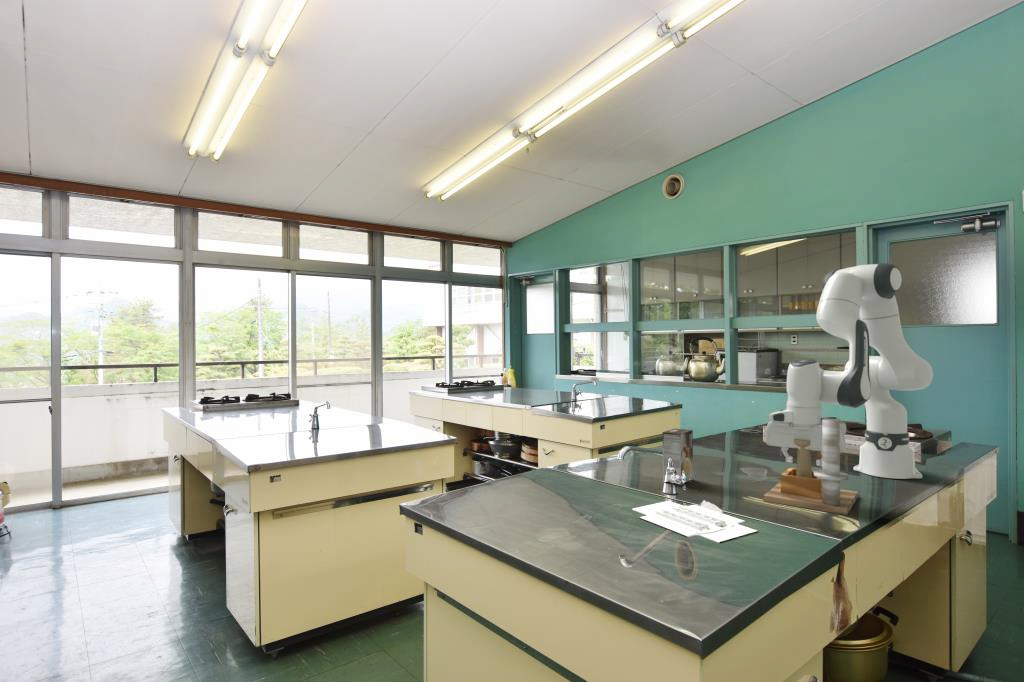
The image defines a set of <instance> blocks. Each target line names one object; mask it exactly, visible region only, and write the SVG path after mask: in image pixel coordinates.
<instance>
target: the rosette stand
mask: <svg viewBox="0 0 1024 682" xmlns="http://www.w3.org/2000/svg"><path fill="white" fill-rule="evenodd" d="M832 419H833V418H830V419H823V420H822V455H821V458H822V467H821V469H818V470H812V478H806V477H799V476H797V467H796V468H795V467H789V468H787V469H786V470H785V471H783V472H782V473H781V474H780V481H779V482H777V484H775V485H774V486H772V488H771V489H770V490H768V491H767V492H765V494H763V502H768V503H774V504H780V505H786V506H791V507H797V508H803V509H811V510H815V511H820V512H821V511H822V512H827V513H833V514H839V515H844V516H848V514H849V513H850V511H851V510H852V507H853V506H854V504H855V502H856V501H857V499H858V495H859V494H858V493H859V492H858V491H856V490H848V489H841V481H848V480H849V479H850V475H849V474H848V473H845V472H843V471H841V468H840V467H841V456H840V455H841V453H840V423H841V422H840V421H841V420H840V421H839V420H832Z"/></svg>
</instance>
